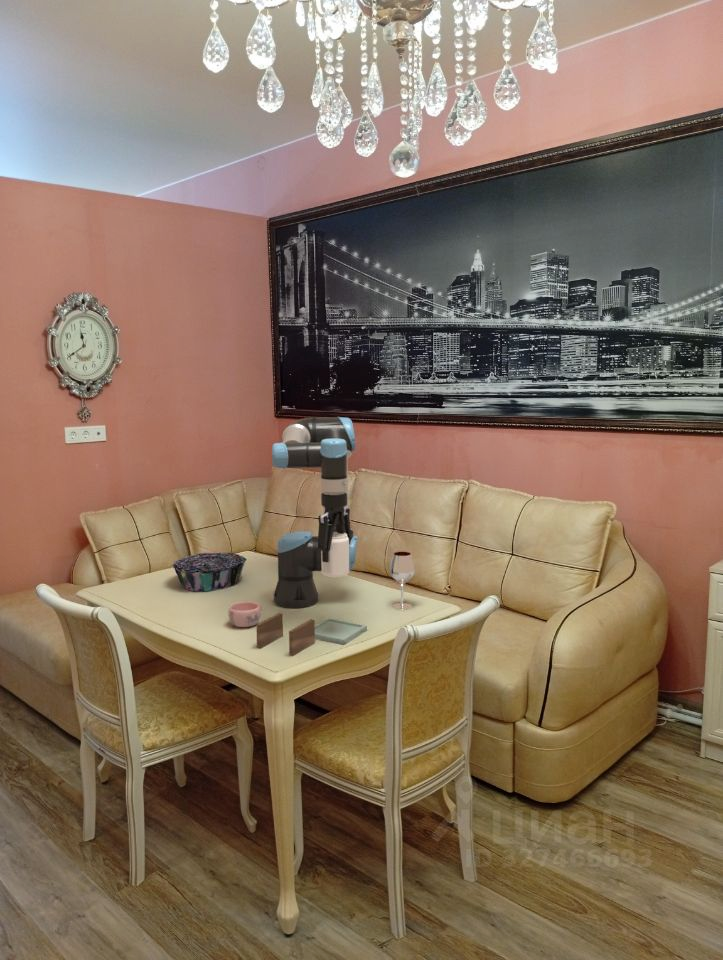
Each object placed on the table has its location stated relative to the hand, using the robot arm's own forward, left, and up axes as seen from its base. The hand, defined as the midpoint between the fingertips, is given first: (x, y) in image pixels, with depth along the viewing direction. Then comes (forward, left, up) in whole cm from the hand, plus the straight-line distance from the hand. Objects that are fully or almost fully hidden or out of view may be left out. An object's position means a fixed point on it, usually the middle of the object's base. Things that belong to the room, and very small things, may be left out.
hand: (335, 568), depth 221 cm
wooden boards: (-8, -15, -20) cm, 26 cm away
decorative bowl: (-67, +21, -20) cm, 73 cm away
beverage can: (0, 0, -2) cm, 2 cm away
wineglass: (+6, +31, -20) cm, 38 cm away
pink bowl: (-29, -6, -20) cm, 35 cm away
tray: (0, 0, -20) cm, 20 cm away
